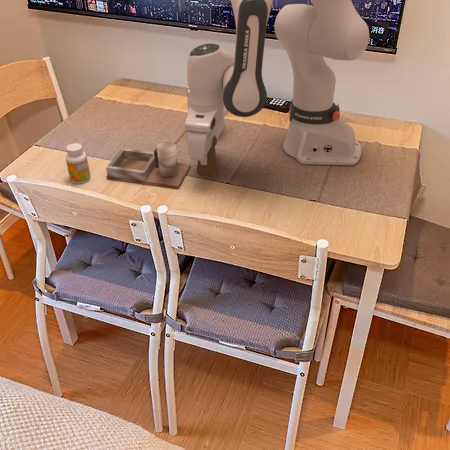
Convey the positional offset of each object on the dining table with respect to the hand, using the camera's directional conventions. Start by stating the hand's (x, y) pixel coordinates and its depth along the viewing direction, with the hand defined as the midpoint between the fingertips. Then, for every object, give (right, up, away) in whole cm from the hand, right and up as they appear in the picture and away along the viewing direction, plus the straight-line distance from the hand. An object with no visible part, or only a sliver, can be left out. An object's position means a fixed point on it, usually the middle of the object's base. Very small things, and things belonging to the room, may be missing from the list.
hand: (207, 157), depth 142 cm
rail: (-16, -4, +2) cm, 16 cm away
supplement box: (-1, +10, +20) cm, 22 cm away
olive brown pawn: (0, -3, +3) cm, 4 cm away
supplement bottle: (-34, -6, 0) cm, 34 cm away
